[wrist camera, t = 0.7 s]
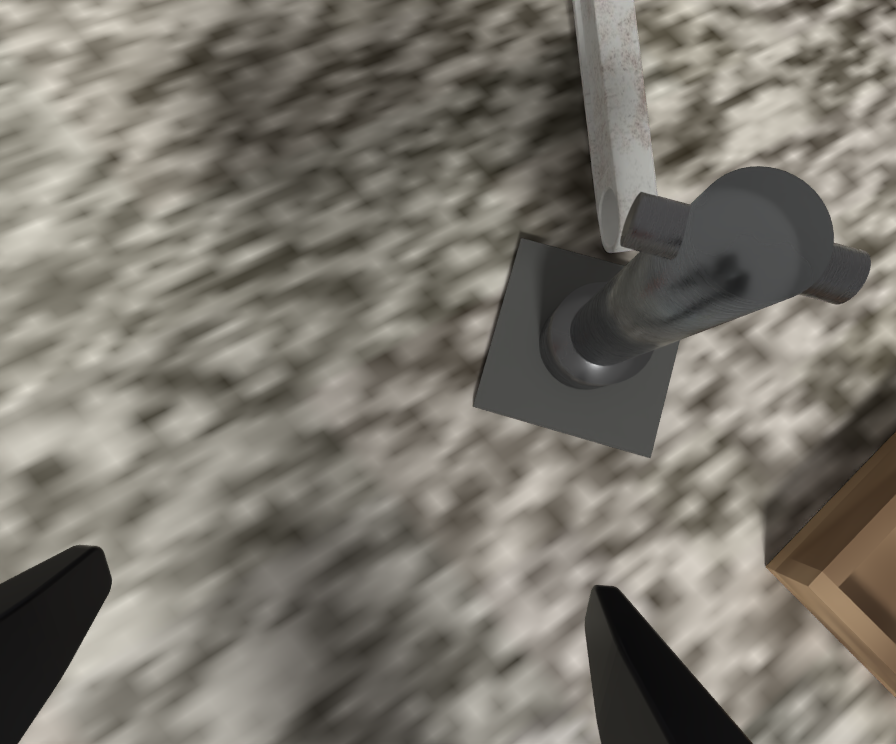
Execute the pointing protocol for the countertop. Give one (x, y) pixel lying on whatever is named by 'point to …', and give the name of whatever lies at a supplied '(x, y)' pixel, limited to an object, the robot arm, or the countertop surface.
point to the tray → (852, 565)
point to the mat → (532, 386)
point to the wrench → (614, 111)
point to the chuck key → (700, 273)
